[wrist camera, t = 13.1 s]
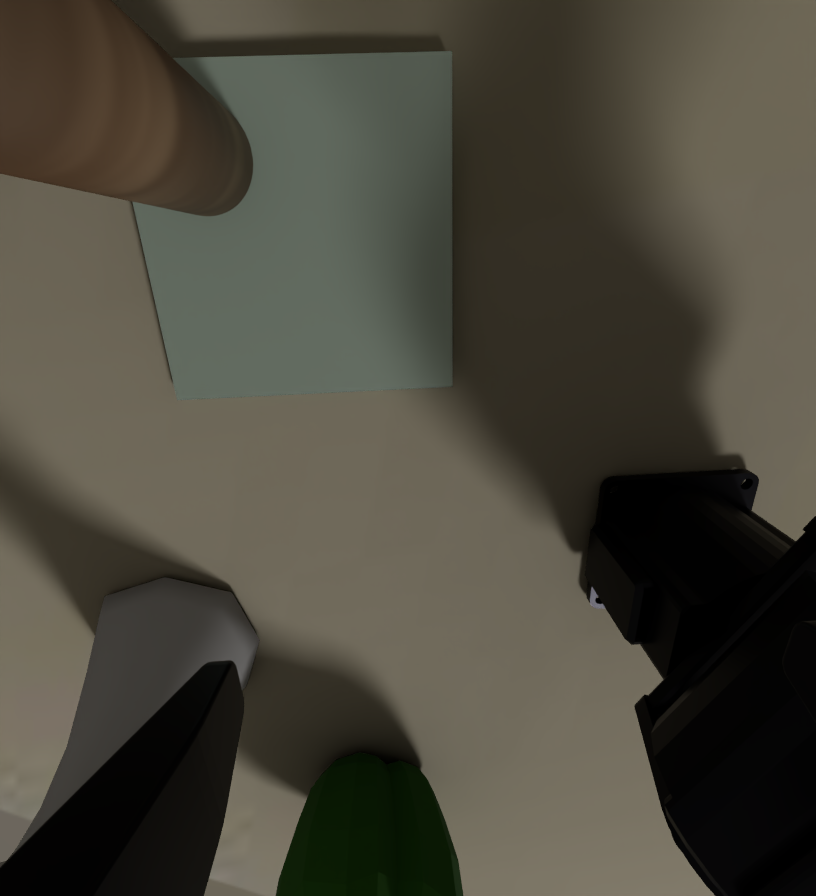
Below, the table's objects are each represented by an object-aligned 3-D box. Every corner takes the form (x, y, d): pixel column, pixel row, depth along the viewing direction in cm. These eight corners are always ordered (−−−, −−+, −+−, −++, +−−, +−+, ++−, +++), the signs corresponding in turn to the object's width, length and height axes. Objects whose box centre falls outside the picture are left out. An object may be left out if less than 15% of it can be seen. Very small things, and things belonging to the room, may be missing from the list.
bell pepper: (275, 814, 27) (220, 1103, 18) (321, 714, 24) (284, 995, 15) (412, 841, 29) (426, 1119, 20) (470, 751, 26) (518, 1025, 17)
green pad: (449, 58, 14) (452, 51, 14) (450, 382, 18) (452, 386, 18) (111, 67, 14) (100, 59, 14) (183, 395, 18) (177, 399, 17)
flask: (81, 575, 21) (-162, 834, 11) (251, 570, 21) (148, 819, 12) (118, 698, 23) (-54, 989, 14) (269, 692, 24) (196, 973, 14)
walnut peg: (267, 58, 14) (-513, -1286, 2) (289, 240, 16) (-21, 195, 4) (96, 62, 14) (-2054, -1382, 2) (138, 246, 15) (-721, 221, 3)
